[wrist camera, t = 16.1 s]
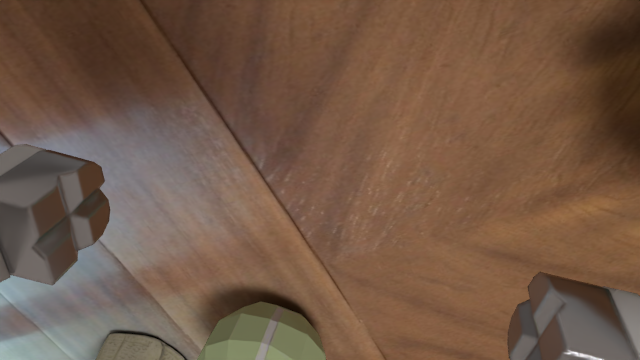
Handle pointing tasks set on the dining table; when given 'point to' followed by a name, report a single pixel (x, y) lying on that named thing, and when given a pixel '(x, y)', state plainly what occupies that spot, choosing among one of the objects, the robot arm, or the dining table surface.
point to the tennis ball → (263, 336)
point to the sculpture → (136, 348)
